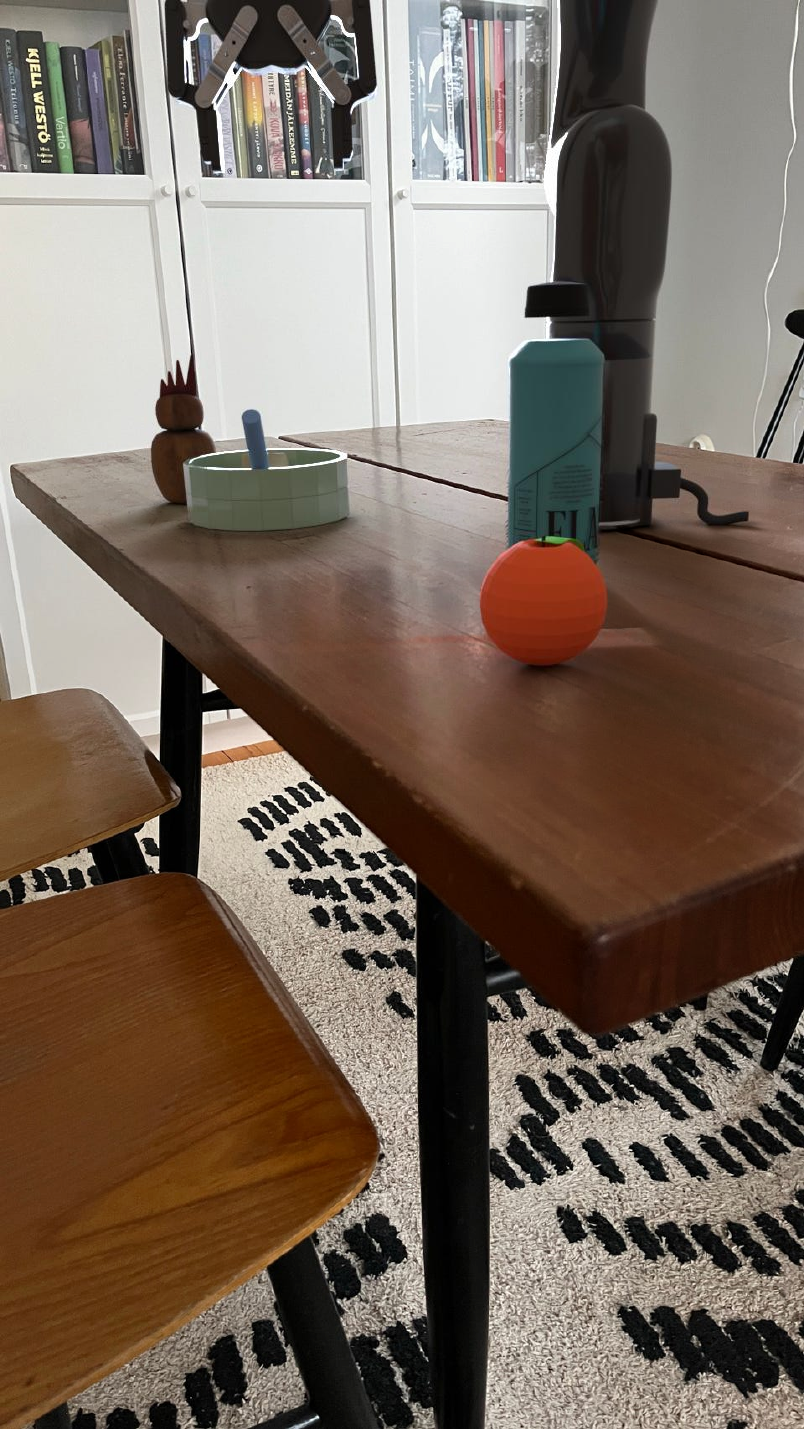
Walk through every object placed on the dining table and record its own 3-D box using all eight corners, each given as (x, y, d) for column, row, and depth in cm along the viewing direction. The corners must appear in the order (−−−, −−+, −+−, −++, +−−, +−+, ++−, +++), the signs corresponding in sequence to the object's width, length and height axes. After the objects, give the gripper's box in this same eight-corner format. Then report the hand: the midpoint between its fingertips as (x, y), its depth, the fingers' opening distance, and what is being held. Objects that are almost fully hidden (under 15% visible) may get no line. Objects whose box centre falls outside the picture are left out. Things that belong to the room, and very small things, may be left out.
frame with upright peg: (237, 512, 104) (234, 446, 103) (306, 510, 104) (304, 443, 103) (212, 486, 88) (209, 408, 88) (294, 484, 88) (291, 405, 88)
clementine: (533, 633, 64) (535, 516, 61) (636, 653, 60) (643, 528, 57) (454, 667, 58) (452, 539, 56) (562, 691, 54) (566, 554, 52)
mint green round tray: (350, 505, 109) (347, 446, 107) (348, 534, 95) (345, 466, 92) (202, 510, 109) (196, 451, 106) (178, 540, 94) (171, 472, 92)
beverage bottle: (539, 605, 70) (545, 280, 63) (486, 585, 75) (486, 284, 68) (618, 592, 73) (632, 278, 66) (561, 574, 78) (569, 283, 71)
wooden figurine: (225, 496, 117) (213, 353, 111) (211, 505, 111) (197, 355, 106) (166, 497, 117) (150, 355, 112) (149, 506, 112) (132, 357, 107)
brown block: (290, 502, 102) (288, 460, 102) (286, 496, 98) (284, 452, 98) (249, 504, 102) (247, 462, 102) (243, 497, 98) (241, 454, 98)
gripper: (141, -126, 65) (169, 166, 71) (371, -130, 66) (380, 161, 72) (162, -83, 72) (186, 180, 78) (369, -87, 73) (378, 175, 79)
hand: (278, 171), depth 75 cm, fingers open, 8 cm apart
